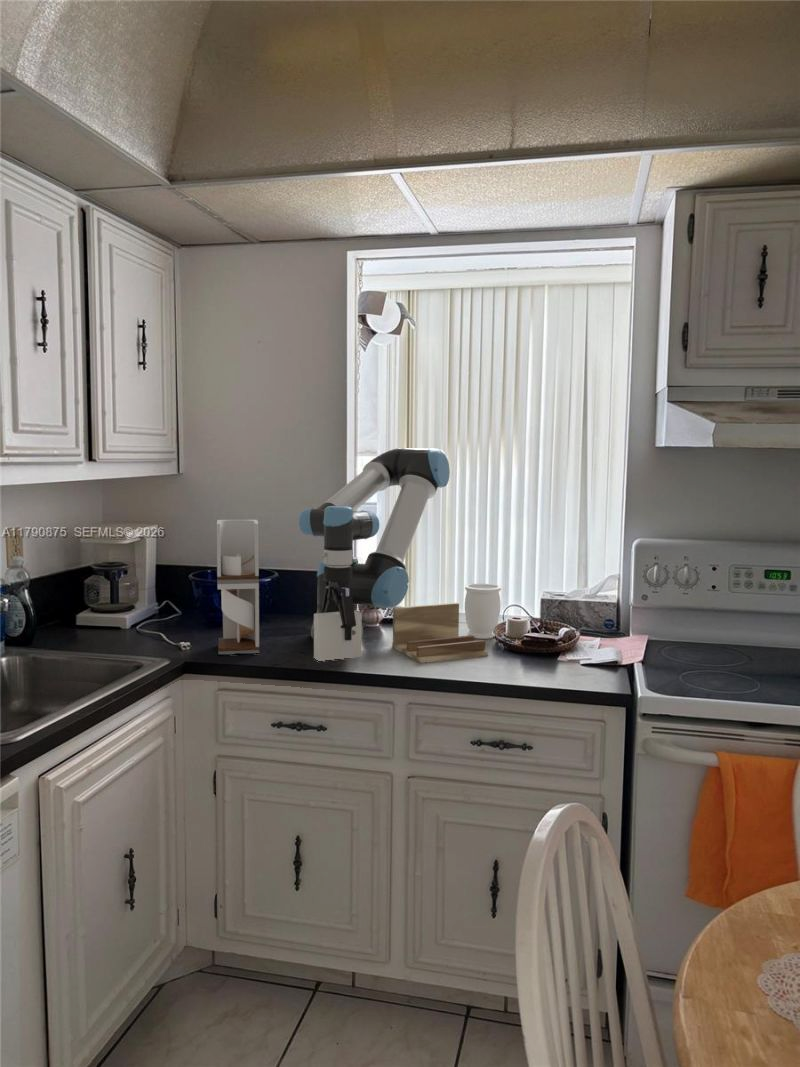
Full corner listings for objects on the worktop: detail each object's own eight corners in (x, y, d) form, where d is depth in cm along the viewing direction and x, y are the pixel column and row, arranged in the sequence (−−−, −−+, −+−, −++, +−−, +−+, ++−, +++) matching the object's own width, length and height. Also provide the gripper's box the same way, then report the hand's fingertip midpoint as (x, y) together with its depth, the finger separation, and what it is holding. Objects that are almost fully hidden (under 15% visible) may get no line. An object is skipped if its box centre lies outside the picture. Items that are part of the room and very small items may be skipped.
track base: (392, 647, 222) (392, 607, 221) (455, 640, 230) (456, 602, 229) (420, 663, 206) (421, 620, 204) (487, 655, 214) (488, 614, 213)
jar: (490, 631, 243) (492, 582, 241) (505, 639, 233) (507, 588, 231) (458, 633, 239) (459, 584, 238) (472, 641, 230) (473, 590, 228)
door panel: (313, 658, 209) (313, 613, 208) (356, 654, 214) (356, 610, 213) (318, 662, 205) (319, 616, 204) (362, 657, 210) (362, 613, 209)
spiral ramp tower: (218, 645, 221) (217, 519, 218) (257, 643, 223) (257, 519, 220) (218, 655, 210) (216, 523, 206) (259, 654, 212) (258, 523, 209)
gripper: (309, 559, 217) (309, 637, 219) (341, 573, 195) (340, 659, 197) (335, 558, 220) (335, 635, 222) (369, 571, 198) (368, 656, 200)
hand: (337, 646), depth 209 cm, fingers open, 12 cm apart
